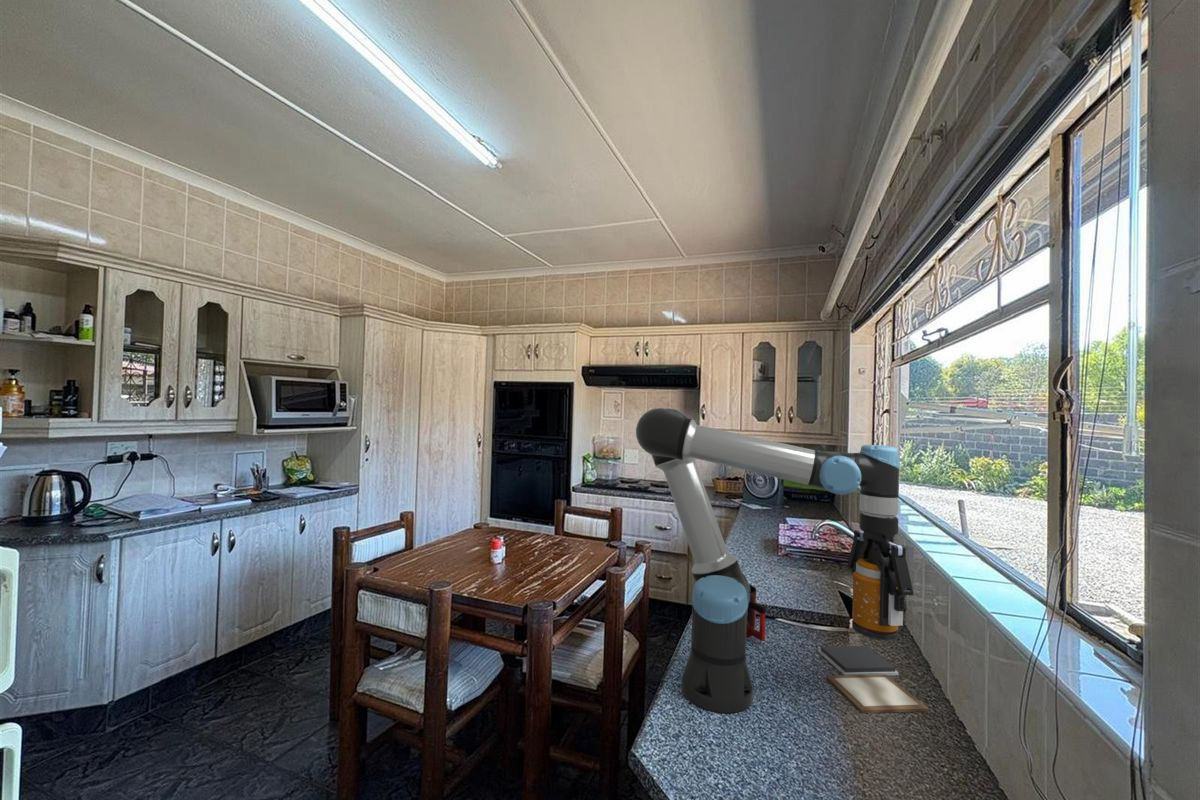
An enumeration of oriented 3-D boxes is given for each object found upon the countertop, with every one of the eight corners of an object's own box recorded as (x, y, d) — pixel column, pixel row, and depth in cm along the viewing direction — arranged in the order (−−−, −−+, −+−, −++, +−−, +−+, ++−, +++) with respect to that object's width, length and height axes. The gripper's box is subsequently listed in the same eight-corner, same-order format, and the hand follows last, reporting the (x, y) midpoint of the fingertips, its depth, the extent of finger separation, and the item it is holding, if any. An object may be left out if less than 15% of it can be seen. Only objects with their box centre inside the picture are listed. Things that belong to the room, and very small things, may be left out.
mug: (763, 646, 127) (764, 600, 127) (714, 630, 135) (715, 587, 135) (774, 633, 134) (776, 590, 135) (727, 619, 143) (728, 578, 143)
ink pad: (845, 676, 113) (845, 669, 113) (817, 651, 125) (818, 645, 125) (898, 675, 114) (898, 668, 114) (866, 651, 126) (867, 644, 126)
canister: (885, 626, 112) (887, 540, 112) (911, 649, 101) (913, 553, 101) (845, 623, 112) (847, 537, 113) (866, 646, 101) (868, 551, 102)
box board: (862, 713, 99) (862, 709, 99) (826, 678, 112) (826, 675, 112) (929, 711, 100) (929, 708, 100) (885, 677, 113) (885, 674, 113)
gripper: (935, 526, 96) (934, 637, 95) (860, 504, 119) (859, 593, 119) (901, 526, 95) (899, 638, 95) (832, 504, 118) (830, 593, 118)
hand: (876, 613), depth 107 cm, fingers closed on canister, 11 cm apart
